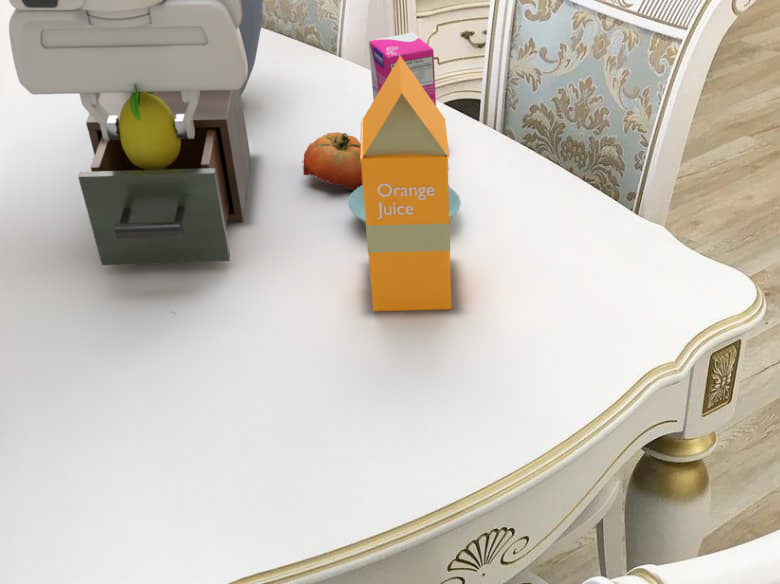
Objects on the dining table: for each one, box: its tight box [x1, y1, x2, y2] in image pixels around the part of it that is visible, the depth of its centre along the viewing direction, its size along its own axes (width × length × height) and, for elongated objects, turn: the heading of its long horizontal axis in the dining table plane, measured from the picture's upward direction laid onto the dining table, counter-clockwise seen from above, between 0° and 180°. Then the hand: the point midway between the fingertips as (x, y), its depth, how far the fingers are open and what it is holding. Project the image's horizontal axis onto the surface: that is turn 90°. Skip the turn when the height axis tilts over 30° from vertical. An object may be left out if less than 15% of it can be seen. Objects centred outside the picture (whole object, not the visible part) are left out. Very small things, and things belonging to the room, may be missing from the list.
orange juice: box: [360, 55, 452, 312], centre depth 102 cm, size 8×9×20 cm
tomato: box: [301, 131, 363, 191], centre depth 124 cm, size 8×7×7 cm
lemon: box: [119, 85, 181, 170], centre depth 104 cm, size 7×6×10 cm
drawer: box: [78, 127, 231, 266], centre depth 109 cm, size 19×12×9 cm, turn 6°
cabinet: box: [85, 89, 252, 223], centre depth 119 cm, size 16×14×11 cm
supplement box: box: [368, 32, 437, 106], centre depth 127 cm, size 6×6×12 cm
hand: (149, 137), depth 105 cm, fingers closed on lemon, 5 cm apart
